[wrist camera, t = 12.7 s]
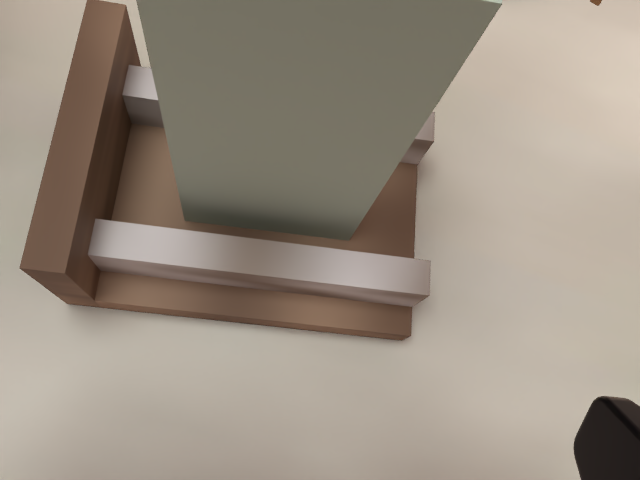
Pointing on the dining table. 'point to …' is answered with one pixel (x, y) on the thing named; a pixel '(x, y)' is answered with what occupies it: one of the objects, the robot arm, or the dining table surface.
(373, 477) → the dining table surface
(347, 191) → the pale green rectangular box
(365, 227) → the cabinet base
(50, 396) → the dining table surface
